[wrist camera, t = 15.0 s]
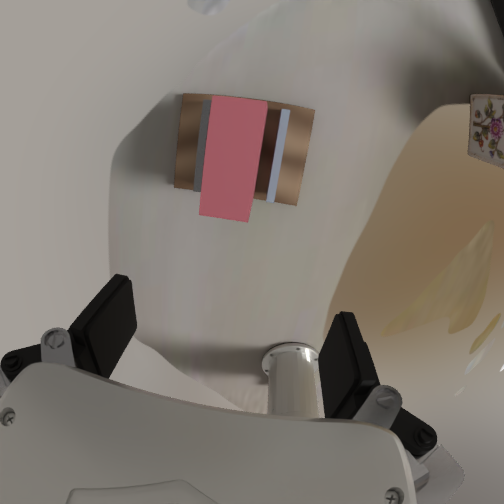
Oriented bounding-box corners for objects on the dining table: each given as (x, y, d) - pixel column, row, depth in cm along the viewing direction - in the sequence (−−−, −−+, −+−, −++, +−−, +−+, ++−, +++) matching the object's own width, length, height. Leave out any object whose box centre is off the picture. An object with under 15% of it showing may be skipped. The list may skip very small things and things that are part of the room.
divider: (273, 194, 38) (273, 203, 34) (266, 193, 38) (266, 201, 34) (288, 111, 32) (290, 110, 29) (280, 110, 32) (282, 108, 29)
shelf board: (295, 202, 40) (296, 205, 38) (177, 185, 40) (174, 187, 38) (313, 110, 33) (315, 109, 32) (186, 94, 33) (183, 93, 32)
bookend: (207, 185, 38) (200, 192, 34) (200, 184, 38) (193, 191, 34) (217, 102, 32) (211, 99, 29) (210, 101, 32) (203, 99, 29)
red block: (254, 192, 38) (247, 222, 27) (219, 187, 38) (199, 214, 27) (268, 108, 32) (266, 101, 22) (230, 103, 32) (212, 95, 22)
